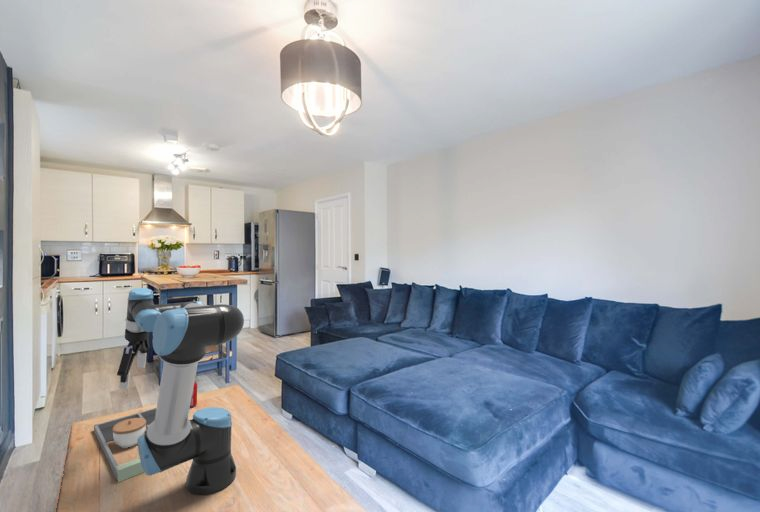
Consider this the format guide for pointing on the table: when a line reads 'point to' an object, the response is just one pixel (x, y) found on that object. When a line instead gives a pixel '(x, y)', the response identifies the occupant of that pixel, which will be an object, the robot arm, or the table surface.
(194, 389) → the soda can
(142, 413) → the box
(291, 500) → the table surface
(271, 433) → the table surface
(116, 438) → the lidded jar
